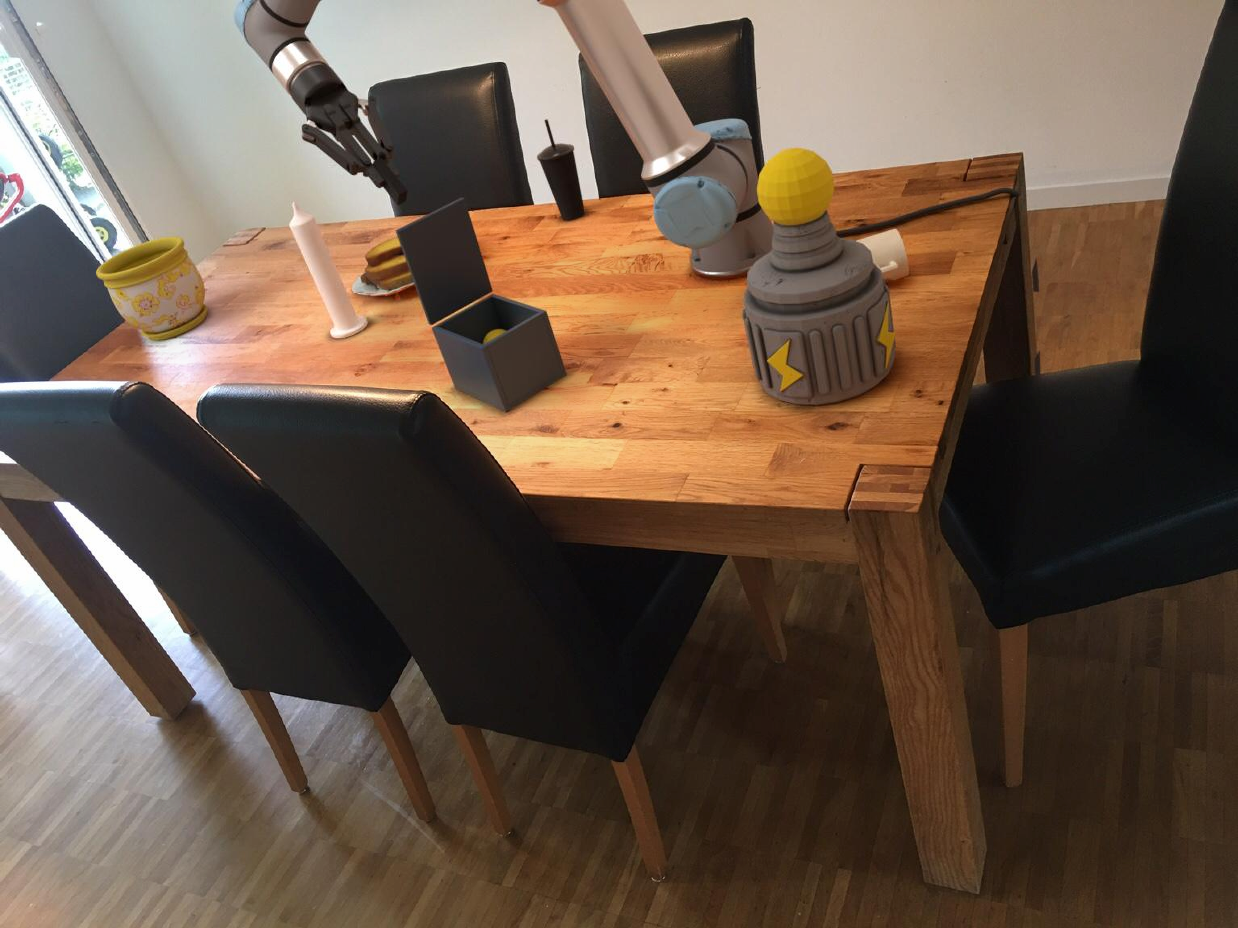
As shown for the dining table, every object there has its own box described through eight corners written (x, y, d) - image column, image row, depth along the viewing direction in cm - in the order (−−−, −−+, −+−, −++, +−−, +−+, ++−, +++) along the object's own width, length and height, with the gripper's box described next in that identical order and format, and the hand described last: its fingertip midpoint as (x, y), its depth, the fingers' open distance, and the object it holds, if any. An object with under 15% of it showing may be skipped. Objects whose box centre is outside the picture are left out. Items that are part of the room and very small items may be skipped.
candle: (374, 318, 192) (320, 192, 178) (355, 337, 186) (297, 208, 173) (344, 321, 195) (289, 197, 181) (324, 339, 189) (265, 213, 176)
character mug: (826, 313, 148) (915, 286, 146) (816, 268, 145) (907, 240, 143) (813, 288, 158) (896, 263, 156) (803, 245, 154) (888, 219, 153)
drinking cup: (587, 220, 206) (559, 122, 196) (551, 226, 209) (522, 130, 198) (595, 205, 212) (569, 110, 202) (561, 211, 215) (533, 117, 204)
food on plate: (413, 308, 191) (399, 277, 187) (330, 301, 206) (316, 272, 202) (498, 247, 206) (488, 217, 202) (416, 245, 221) (404, 216, 217)
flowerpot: (199, 300, 228) (163, 232, 219) (232, 312, 215) (195, 240, 206) (124, 338, 219) (83, 269, 210) (153, 354, 206) (112, 280, 198)
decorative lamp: (795, 330, 146) (757, 124, 130) (922, 341, 135) (898, 116, 119) (729, 400, 135) (680, 184, 119) (862, 418, 124) (827, 182, 108)
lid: (464, 198, 148) (461, 197, 149) (397, 231, 143) (395, 230, 144) (493, 291, 158) (490, 290, 158) (431, 325, 153) (428, 324, 153)
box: (567, 374, 153) (546, 310, 147) (505, 412, 148) (481, 348, 142) (514, 353, 164) (492, 293, 158) (455, 388, 159) (430, 327, 153)
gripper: (347, 83, 160) (436, 195, 157) (272, 114, 154) (363, 231, 151) (348, 48, 153) (441, 165, 150) (270, 79, 148) (366, 201, 144)
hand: (402, 198), depth 151 cm, fingers closed
